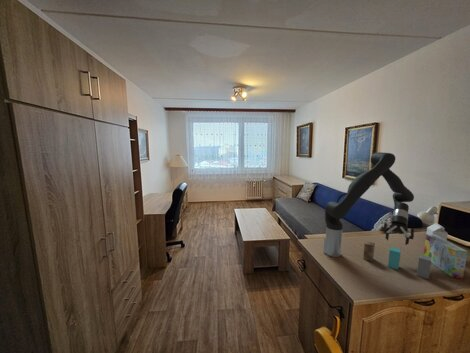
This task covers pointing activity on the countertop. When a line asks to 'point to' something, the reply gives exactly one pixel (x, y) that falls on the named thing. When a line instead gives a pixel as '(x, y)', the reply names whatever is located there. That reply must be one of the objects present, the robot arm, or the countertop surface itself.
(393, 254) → the teal block
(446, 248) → the snack box
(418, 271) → the charcoal block
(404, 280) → the countertop surface
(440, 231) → the milk carton
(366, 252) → the walnut block
